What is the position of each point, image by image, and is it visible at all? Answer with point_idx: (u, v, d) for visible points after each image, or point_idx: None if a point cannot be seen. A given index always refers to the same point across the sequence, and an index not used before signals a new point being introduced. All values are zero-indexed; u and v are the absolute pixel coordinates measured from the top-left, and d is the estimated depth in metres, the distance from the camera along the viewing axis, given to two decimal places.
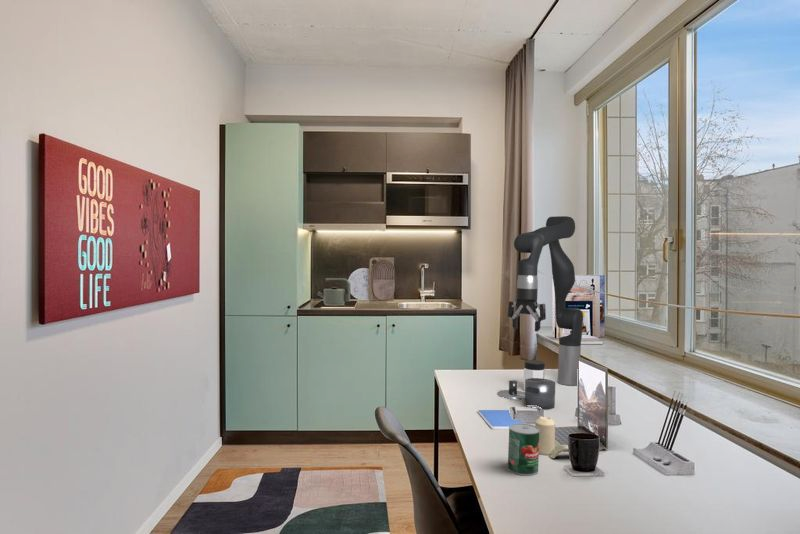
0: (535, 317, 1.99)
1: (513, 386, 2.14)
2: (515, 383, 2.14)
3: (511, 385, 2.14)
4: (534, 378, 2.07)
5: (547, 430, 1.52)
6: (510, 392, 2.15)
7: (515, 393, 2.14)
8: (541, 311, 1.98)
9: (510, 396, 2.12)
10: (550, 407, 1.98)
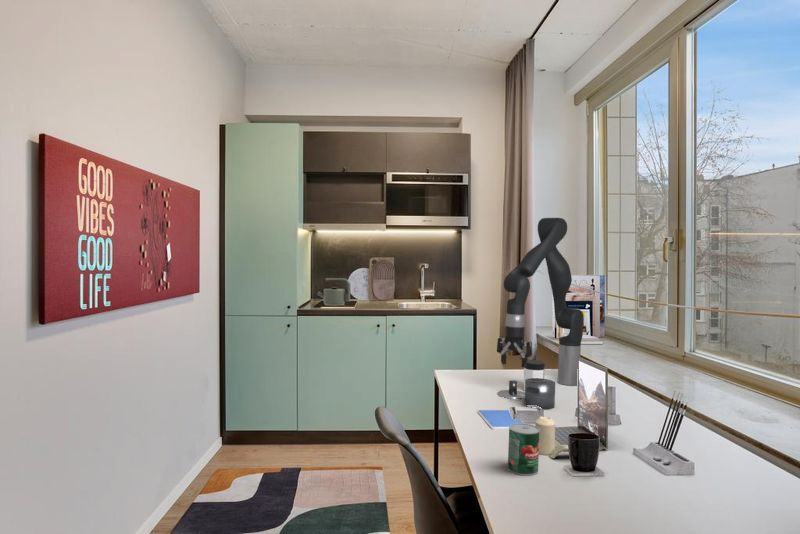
0: (522, 354, 2.12)
1: (513, 386, 2.14)
2: (515, 383, 2.14)
3: (511, 385, 2.14)
4: (534, 378, 2.07)
5: (547, 430, 1.52)
6: (510, 392, 2.15)
7: (515, 393, 2.14)
8: (527, 348, 2.10)
9: (510, 396, 2.12)
10: (550, 407, 1.98)
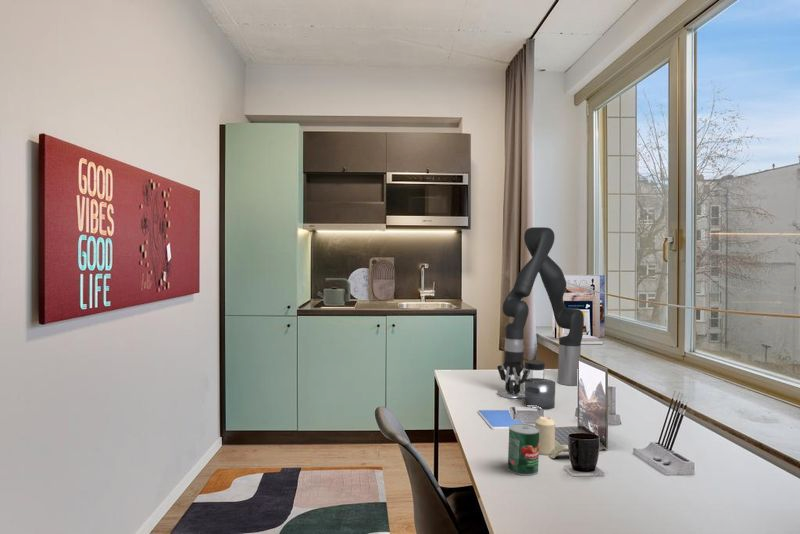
0: (516, 380, 2.13)
1: (513, 385, 2.14)
2: (515, 382, 2.14)
3: (511, 384, 2.14)
4: (534, 378, 2.07)
5: (547, 430, 1.52)
6: (510, 391, 2.15)
7: None
8: (524, 376, 2.11)
9: (510, 395, 2.12)
10: (550, 407, 1.98)
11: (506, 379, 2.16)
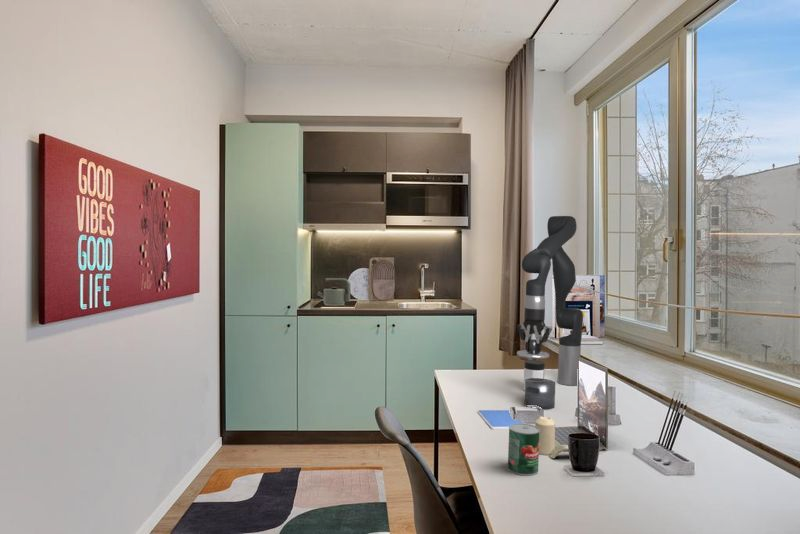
0: (537, 339, 2.02)
1: (533, 345, 2.03)
2: None
3: (531, 344, 2.04)
4: (534, 378, 2.07)
5: (547, 430, 1.52)
6: (530, 351, 2.04)
7: (535, 352, 2.04)
8: (545, 334, 2.00)
9: (530, 354, 2.01)
10: (550, 407, 1.98)
11: (526, 338, 2.05)
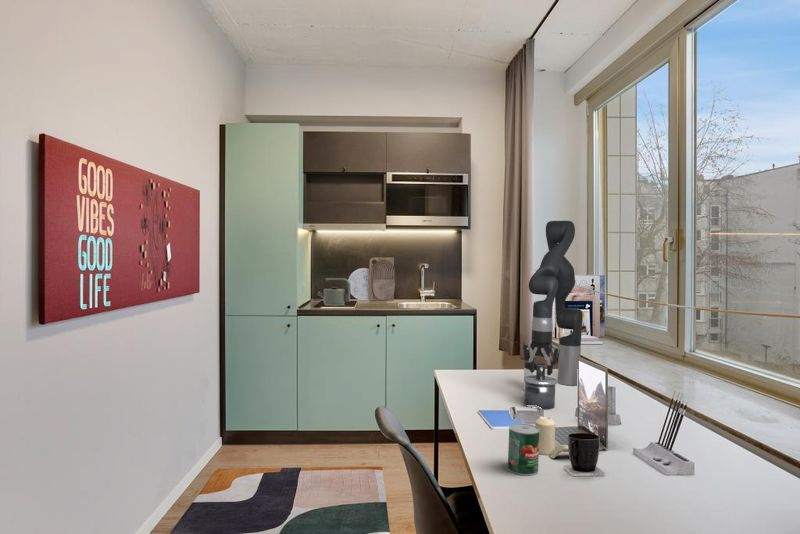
0: (548, 361, 1.99)
1: (541, 371, 2.00)
2: (543, 367, 2.01)
3: (539, 370, 2.01)
4: None
5: (547, 430, 1.52)
6: (538, 377, 2.01)
7: (543, 378, 2.01)
8: (555, 356, 1.97)
9: (538, 381, 1.98)
10: (550, 407, 1.98)
11: (530, 359, 2.03)
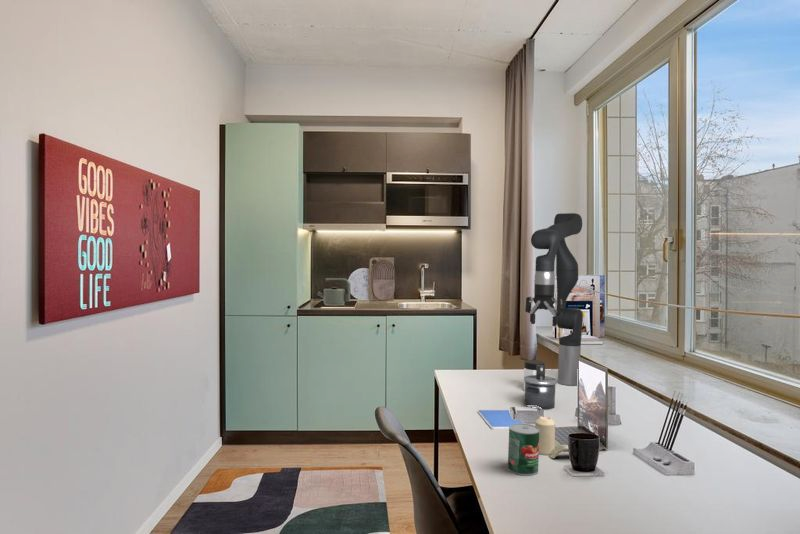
0: (553, 312, 2.03)
1: (541, 371, 2.00)
2: (543, 367, 2.01)
3: (539, 370, 2.01)
4: None
5: (547, 430, 1.52)
6: (538, 377, 2.01)
7: (543, 378, 2.01)
8: (559, 306, 2.01)
9: (538, 381, 1.98)
10: (550, 407, 1.98)
11: (531, 311, 2.08)
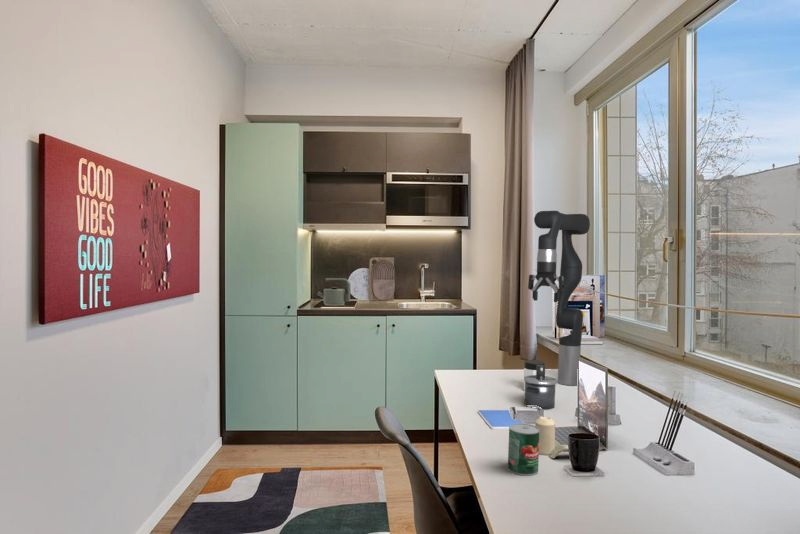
0: (554, 288, 2.12)
1: (541, 371, 2.00)
2: (543, 367, 2.01)
3: (539, 370, 2.01)
4: None
5: (547, 430, 1.52)
6: (538, 377, 2.01)
7: (543, 378, 2.01)
8: (560, 283, 2.10)
9: (538, 381, 1.98)
10: (550, 407, 1.98)
11: (534, 288, 2.17)
